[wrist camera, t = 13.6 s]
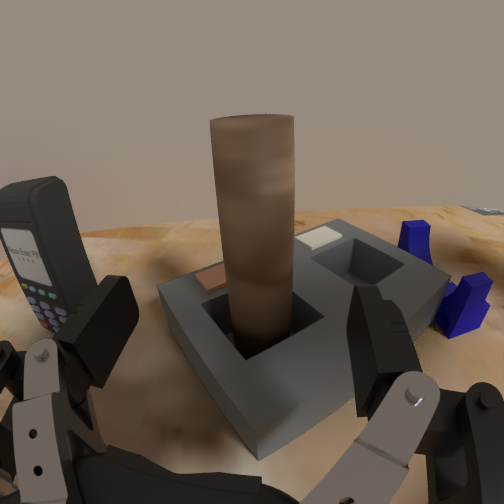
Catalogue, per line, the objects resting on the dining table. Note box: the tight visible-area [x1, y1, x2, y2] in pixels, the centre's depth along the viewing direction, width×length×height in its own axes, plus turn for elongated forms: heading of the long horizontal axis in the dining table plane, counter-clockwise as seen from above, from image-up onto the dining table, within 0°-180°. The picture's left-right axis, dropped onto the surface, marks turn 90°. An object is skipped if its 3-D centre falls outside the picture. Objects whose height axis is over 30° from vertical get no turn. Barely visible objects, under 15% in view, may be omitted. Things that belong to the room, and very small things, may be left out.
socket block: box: [157, 219, 451, 461], centre depth 23 cm, size 20×14×5 cm
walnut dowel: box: [210, 114, 295, 360], centre depth 17 cm, size 4×4×16 cm
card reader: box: [0, 176, 98, 333], centre depth 21 cm, size 9×4×15 cm, turn 75°
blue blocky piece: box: [398, 220, 493, 339], centre depth 25 cm, size 12×4×6 cm, turn 6°
